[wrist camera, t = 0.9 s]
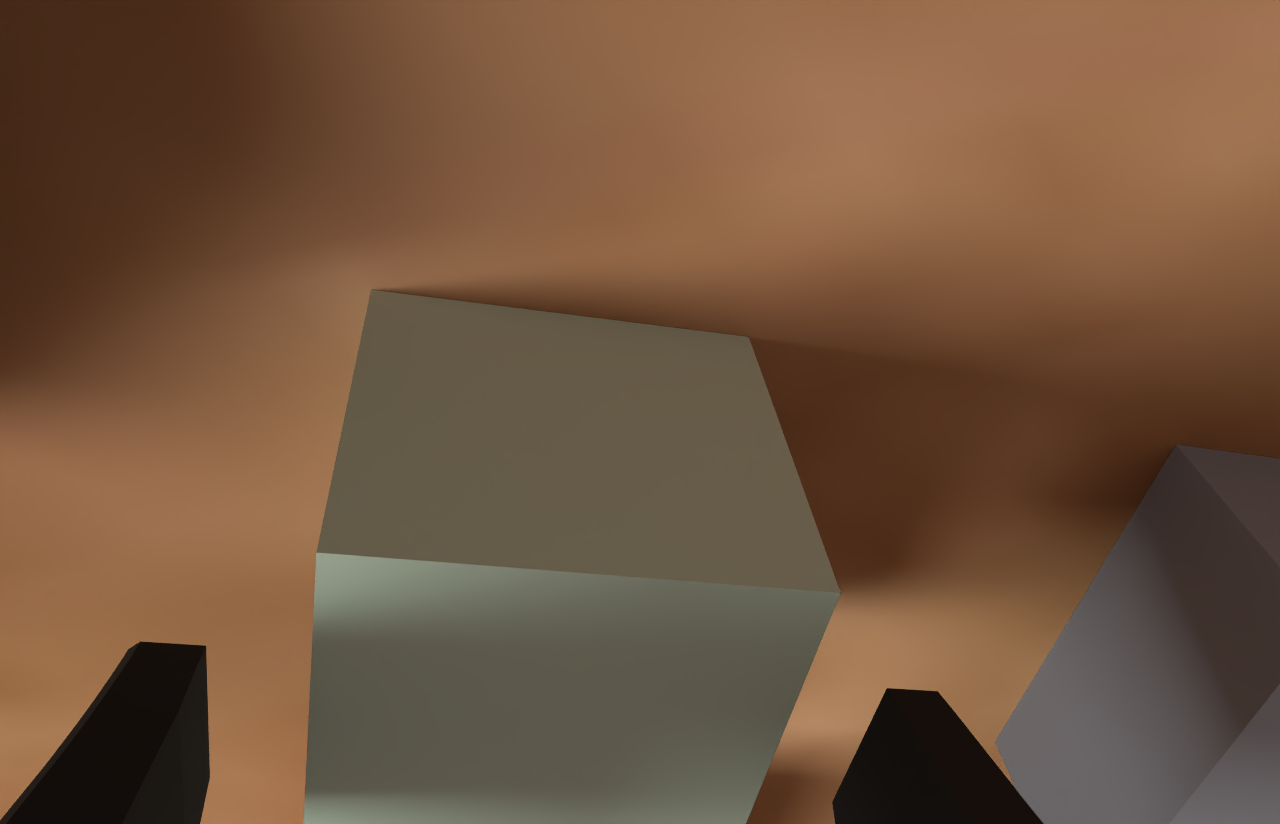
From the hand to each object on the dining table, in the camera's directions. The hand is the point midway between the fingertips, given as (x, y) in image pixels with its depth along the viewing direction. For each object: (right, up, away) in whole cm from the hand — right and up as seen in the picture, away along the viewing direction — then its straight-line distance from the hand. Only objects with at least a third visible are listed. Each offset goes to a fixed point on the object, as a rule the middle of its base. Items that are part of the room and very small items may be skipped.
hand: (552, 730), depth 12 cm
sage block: (-1, +3, +4) cm, 5 cm away
